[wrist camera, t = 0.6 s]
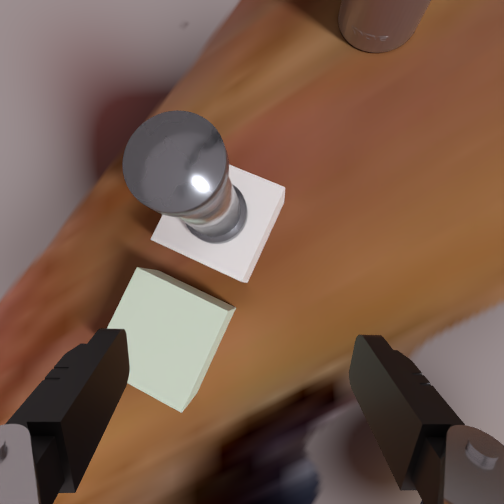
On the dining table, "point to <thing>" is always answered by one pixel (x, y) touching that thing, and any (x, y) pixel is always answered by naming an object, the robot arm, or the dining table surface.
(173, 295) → the stand
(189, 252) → the stand
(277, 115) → the dining table surface
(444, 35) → the dining table surface
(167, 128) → the cylinder
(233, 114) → the dining table surface
